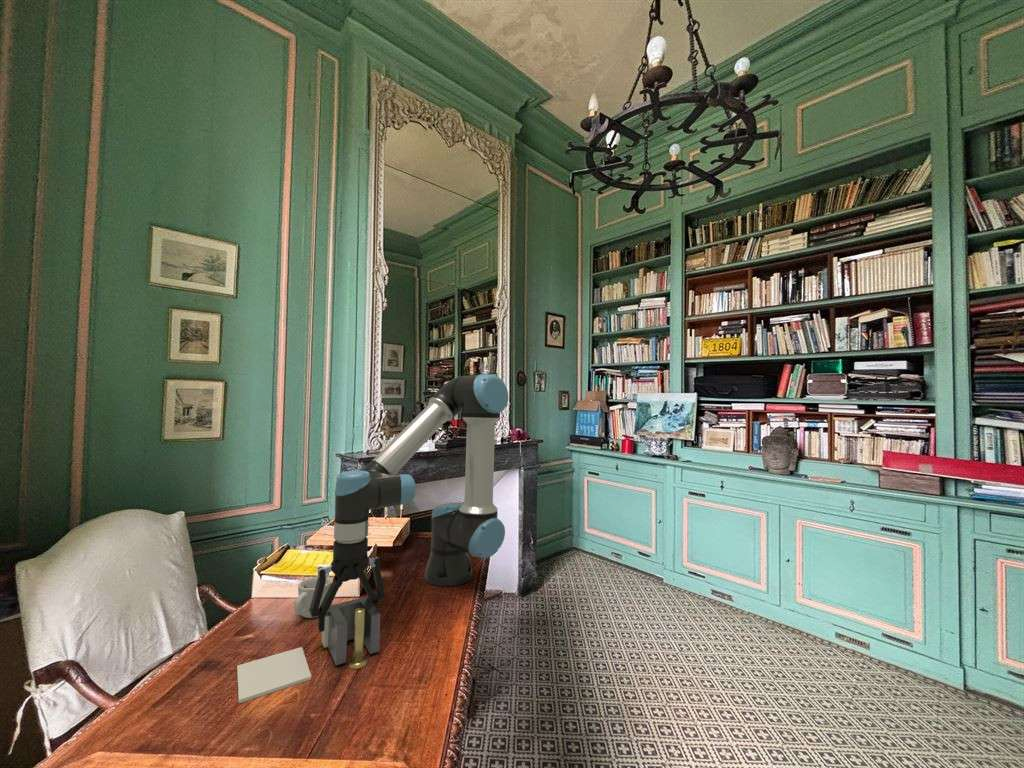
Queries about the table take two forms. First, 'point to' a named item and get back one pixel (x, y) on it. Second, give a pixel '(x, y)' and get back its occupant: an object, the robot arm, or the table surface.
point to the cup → (308, 595)
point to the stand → (358, 641)
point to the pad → (271, 674)
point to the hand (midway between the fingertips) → (347, 637)
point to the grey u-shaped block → (352, 627)
